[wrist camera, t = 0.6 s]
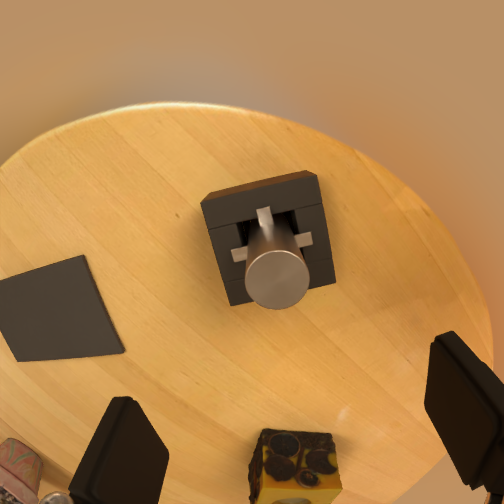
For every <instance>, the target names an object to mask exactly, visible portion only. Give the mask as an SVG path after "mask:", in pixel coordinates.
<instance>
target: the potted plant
mask: <svg viewBox="0 0 504 504" xmlns="http://www.w3.org/2000/svg"><path fill="white" fill-rule="evenodd" d="M42 470H43V462H42V460H41V459H40V458H39V456H38V455H37V454H36V453H34V452H33V451H32V450H31V449H30V448H28V447H27V446H25V445H24V444H23V443H21V442H19V441H18V440H15V439H13V438H8V439H7V440H6V441H5V442H3V443H2V444H1V445H0V504H38V502H39V499H38V498H37V495H38V490H39V485H40V480H41V475H42Z"/></svg>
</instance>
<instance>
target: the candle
mask: <svg viewBox="0 0 504 504" xmlns="http://www.w3.org/2000/svg"><path fill="white" fill-rule="evenodd" d="M253 453H254V455H253V458H252V460H251V463H250V464H249V474H248V480H249V483H250V496H249V500H250V504H331V503H332V501H333V500H334V499H335V498H336V497H337V496H338V494H339V493H340V492H341V490H342V489H343V488H342V483H341V480H340V475H339V471H338V464H337V458H336V451H335V443H334V442H333V440H332V435H331V434H329V433H326V434H323V433H308V432H292V431H278V430H271V429H264V430H262V432H261V434H260V437H259V438H258V443H257V445H256V448H255V451H254V452H253Z"/></svg>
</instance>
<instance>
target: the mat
mask: <svg viewBox="0 0 504 504" xmlns="http://www.w3.org/2000/svg"><path fill="white" fill-rule="evenodd" d="M0 331H1V333H2V335H3V337H4V339H5V340H6V342H7V344H8V346H9V348H10V350H11V351H12V353H13V355H14V357H15V359H16V360H17V362H26V361H43V360H58V359H71V358H82V357H93V356H102V355H112V354H121V353H124V351H125V349H124V347H123V345H122V343H121V341H120V339H119V337H118V335H117V333H116V331H115V328H114V326H113V324H112V322H111V320H110V317H109V315H108V313H107V311H106V308H105V306H104V304H103V301H102V299H101V297H100V294H99V292H98V290H97V287H96V285H95V282H94V280H93V277H92V275H91V272H90V269H89V267H88V264H87V261H86V259H85V256H84V255H80V256H77V257H73V258H70V259H67V260H63V261H60V262H57V263H54V264H50V265H47V266H44V267H41V268H37V269H34V270H31V271H28V272H25V273H22V274H19V275H15V276H12V277H9V278H6V279H3V280H0Z"/></svg>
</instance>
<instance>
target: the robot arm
mask: <svg viewBox="0 0 504 504" xmlns="http://www.w3.org/2000/svg"><path fill="white" fill-rule="evenodd" d="M424 406H425V410H426V412H427V414H428V416H429V418H430V419H431V421H432V423H433V425H434V427H435V429H436V431H437V432H438V434H439V436H440V438H441V440H442V442H443V444H444V446H445V448H446V450H447V452H448V453H449V455H450V457H451V459H452V461H453V463H454V465H455V467H456V469H457V471H458V473H459V476H460V477H461V479H462V482H463V483H464V484H465V485H470V487H471V489H472V490H475V489H476V488H478V487H480V486H482V485H484V486H485V488H486V490H487V492H488V494H487V497H486V500H485V503H484V504H504V384H503V383H502V382H501V381H500V380H499V378H498V377H497V376H496V375H495V374H494V372H493V371H492V370H491V369H490V368H489V367H488V366H487V365H486V364H485V363H484V362H482V361H481V360H480V359H479V358H478V357H477V356H476V355H475V354H474V352H473V351H472V350H471V349H470V348H469V347H468V346H467V345H466V344H465V343H464V342H463V340H462V339H461V338H460V337H459V336H458V335H457V334H456V333H455V332H454V331H449V332H446V333H443V334H441V335H438V336H436V337H435V340H434V342H432V343H431V345H430V355H429V366H428V376H427V384H426V392H425V399H424ZM168 461H169V452H168V449H167V448H166V446H165V445H164V443H163V442H162V440H161V439H160V437H159V436H158V434H157V433H156V431H155V429H154V428H153V426H152V425H151V423H150V421H149V420H148V418H147V417H146V415H145V413H144V412H143V410H142V408H141V407H140V405H139V403H138V402H137V401H136V400H133V398H131V397H129V396H124V397H114V398H112V400H111V402H110V404H109V406H108V407H107V409H106V411H105V413H104V415H103V417H102V419H101V421H100V423H99V425H98V427H97V429H96V431H95V433H94V435H93V437H92V439H91V441H90V443H89V445H88V447H87V449H86V452H85V454H84V456H83V458H82V460H81V462H80V464H79V466H78V468H77V470H76V473H75V475H74V477H73V479H72V481H71V483H70V485H69V488H68V490H69V491H70V494H69V495H67V494H66V493H64V492H52V493H49V494H48V495H46V496H45V497H44V498H43V499H42V500H41V501H40V503H39V504H158V501H159V497H160V493H161V489H162V485H163V481H164V477H165V473H166V469H167V465H168Z"/></svg>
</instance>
